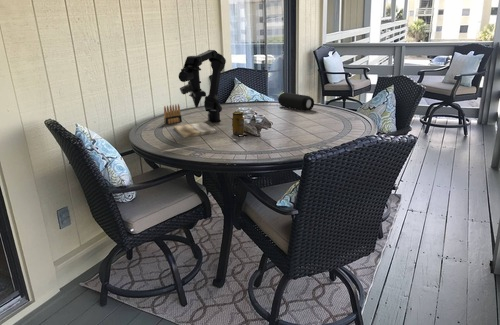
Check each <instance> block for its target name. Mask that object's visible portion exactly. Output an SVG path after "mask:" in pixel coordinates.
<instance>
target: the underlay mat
mask: <svg viewBox="0 0 500 325" xmlns="http://www.w3.org/2000/svg"><path fill="white" fill-rule="evenodd" d="M167 130H168V131H169V132H170V133H171V134H173V135H174V136H175V137H176V138H178V139H179V140H181V139H189V138H195V137H202V136H209V135H214V134H221V132H220V131H219V130H217V133H211V134H204V135H198V136H191V137H185V138H184V137H183V136H182V135H180V134H179V133H178V132H177V131H175V130H174V128H170V129H169V128H168V129H167Z"/></svg>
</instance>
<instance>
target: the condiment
mask: <svg viewBox="0 0 500 325" xmlns="http://www.w3.org/2000/svg"><path fill="white" fill-rule="evenodd" d="M243 115H244V113H243V112H241V111H233V113H232V119H231V120H232V121H231V123H232V125H231V126H232V132H231V134H232V135H234V136H235V137H237V136H239V135H243V134H245V128H244V127H245V124H244V123H245V122H244V116H243Z"/></svg>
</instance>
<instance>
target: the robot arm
mask: <svg viewBox="0 0 500 325" xmlns="http://www.w3.org/2000/svg"><path fill="white" fill-rule="evenodd" d="M206 61H208V62H210V67H211V69H212V73H211V79H210V85H209V91H208V92H209V93H208V95H207V92H206V91H205V90H202V88H201V83H202V81H200V80H201V78H200V71H202V68H200V66H201V65H203V62H206ZM226 63H227V61H226V58H225V57H224V56H223V55H222V54H221V53H219V52H217V50H215V49H208V50H206V51H204V52H202V53H199V54H198V55H197V54H196V55H188V56H186V58H185V61H184V65H183V67H182V68H181V69H180V71H179V73H178V79H179V81H180V82H181V83H185V82H187V84H184V86H181V87H179V90H180V93H181V94H182V95H186V94H188V96H189V97H191V98H192V101H193V104H194V108H199V104H200V102H201V100H202V98H204V101H203V104H204V109H205V112H208V113H207V121H209V122H210V123H219V122H222V120H221V115H220V113H221V112H222V111H223V107H222V105H221V104H220V99H219V96H218V92H219V87H220V79H221V74H222V71H223V70H224V69H225V67H226Z"/></svg>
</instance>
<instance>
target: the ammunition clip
mask: <svg viewBox="0 0 500 325" xmlns="http://www.w3.org/2000/svg"><path fill="white" fill-rule="evenodd" d="M163 116H164V117H163V121H164V122H163V123H164V125H171V124H176V123H183V119H182V113H181V106H180V103H177V104H176V103H175V104H172V105H171V104H170V105H169V106H168V104H167V105H164V107H163Z"/></svg>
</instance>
